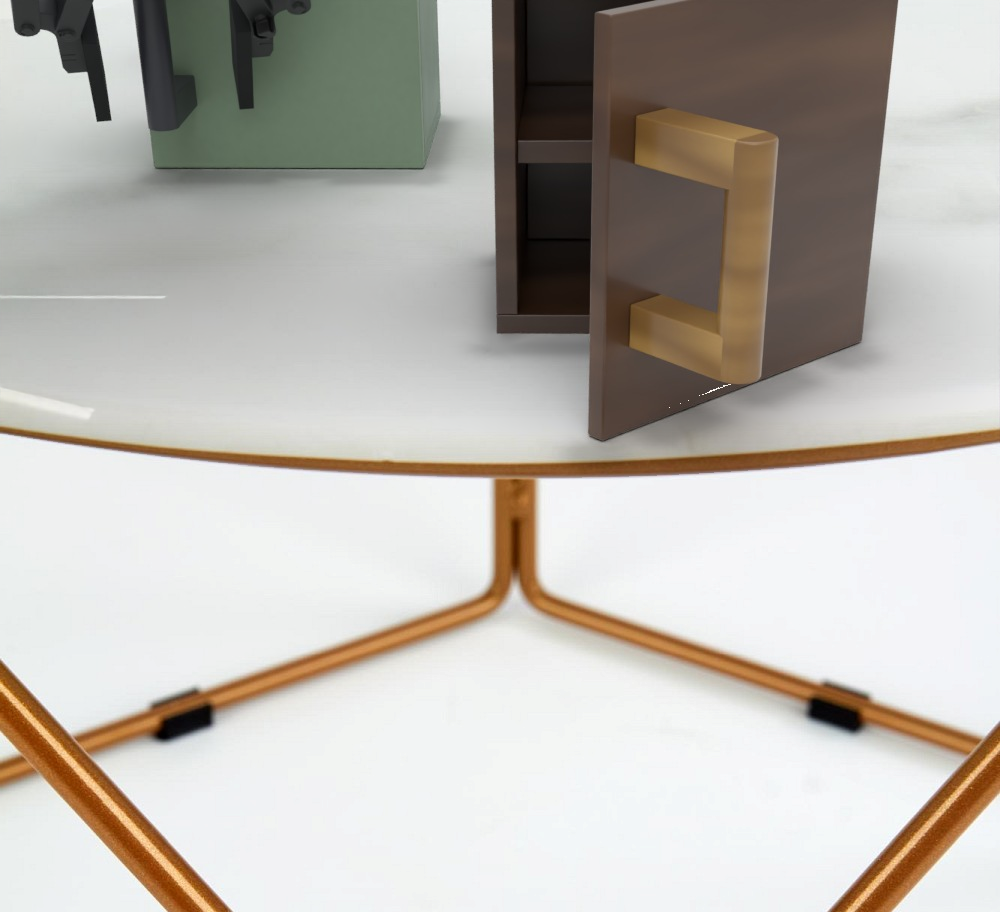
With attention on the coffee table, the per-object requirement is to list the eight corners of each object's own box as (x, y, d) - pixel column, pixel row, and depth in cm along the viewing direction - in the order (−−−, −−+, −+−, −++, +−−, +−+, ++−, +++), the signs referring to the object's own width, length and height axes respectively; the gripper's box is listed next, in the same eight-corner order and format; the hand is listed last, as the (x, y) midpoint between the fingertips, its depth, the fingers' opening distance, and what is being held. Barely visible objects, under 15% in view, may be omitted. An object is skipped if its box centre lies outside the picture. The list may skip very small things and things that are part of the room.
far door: (413, 196, 88) (400, -116, 80) (130, 195, 89) (89, -114, 81) (424, 164, 93) (413, -133, 85) (157, 164, 94) (121, -131, 86)
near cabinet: (852, 337, 71) (892, -52, 63) (496, 335, 72) (490, -49, 64) (823, 253, 80) (855, -96, 72) (508, 252, 81) (504, -93, 73)
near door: (969, 377, 67) (1028, -25, 59) (709, 487, 59) (735, 40, 51) (847, 336, 71) (886, -46, 63) (587, 435, 63) (593, 12, 55)
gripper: (-117, -156, 65) (-13, 174, 87) (396, -187, 67) (369, 140, 90) (-137, -324, 66) (-29, 43, 88) (366, -347, 69) (348, 13, 91)
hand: (172, 91), depth 89 cm, fingers open, 7 cm apart
